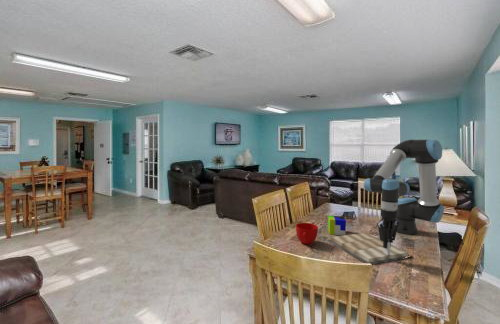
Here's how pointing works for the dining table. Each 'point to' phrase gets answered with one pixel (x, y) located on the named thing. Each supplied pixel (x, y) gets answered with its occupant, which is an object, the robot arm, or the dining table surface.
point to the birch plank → (380, 254)
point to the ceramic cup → (306, 232)
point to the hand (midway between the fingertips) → (386, 253)
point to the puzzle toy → (336, 225)
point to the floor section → (359, 245)
